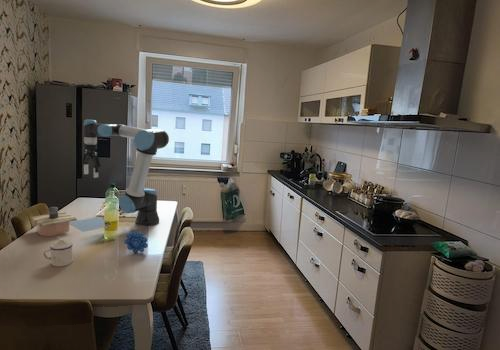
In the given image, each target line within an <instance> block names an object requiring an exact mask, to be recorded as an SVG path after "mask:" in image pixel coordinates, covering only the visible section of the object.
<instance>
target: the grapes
mask: <svg viewBox="0 0 500 350" xmlns="http://www.w3.org/2000/svg"><path fill="white" fill-rule="evenodd" d="M147 242H148V238H147V237H146V236H144V234H143V232H140V231H139V232H137V231H135V230H132V231H131V232H130V233H126V235H125V239H124V244H125V245H127V246H126V248H127V249H128V250H130V251H132V252H133V253H135V254H137V253H144V252H145V249H147V248H148V246H149V245H148V243H147Z"/></svg>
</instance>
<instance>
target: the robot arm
mask: <svg viewBox="0 0 500 350" xmlns="http://www.w3.org/2000/svg"><path fill="white" fill-rule="evenodd" d="M98 136H100V137H110V136H116V137H117V136H118V137H123V138H128V139H132V140H133V142H134V147H135V148H136V149H135V150H136V152H137V156H136V158H135V163H134V166H133V170H132V174H131V178H130V181H129V186H128V187H127V188H125V191H124V192H125V194H124V195H122V196H121V197H120V198H119V206H118V207H120V210H121V211H122V212H124V213H125V214H133V213H136V212H137V214H136V217H135V224H137V225H141V226H144V227H148V226H154V225H155V226H156V225H157V224H160V217H159V215H158V214H159V213H158V209H157V208H158V204H157V203H158V191H157V189H154V188H149V187H145V184H146V182H147V178H148V175H149V174H148V173H149V170H150V167H151V163H152V160H153V156H156V155H157V150H158V149H159V150H160V149H163V148H165V147H166V146H167V145H168V143H169V141H170V137H169V134H168V132H166V131H165V130H163V129H156V128H155V129H154V128H153V129H149V128H139V127H135V126H130V125H125V124H121V123H118V124H117V123H97V120H95V119H85V120H84V121H83V143H84V145H83V155H82V160H81V163H82V164H83V175H89V172H90V171H89V162H90V159H91V162H92V165H93V178H94V179H96V178H99V168H100V167H101V163H100V159H99V156H98V155H99V154H98V151H96V150H97V149H98V145H97V144H98Z"/></svg>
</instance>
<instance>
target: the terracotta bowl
mask: <svg viewBox="0 0 500 350" xmlns="http://www.w3.org/2000/svg"><path fill="white" fill-rule="evenodd" d="M36 224H37V225H36V227H37V234H38V235H39V234H40V236H44V237H55V236H56V237H57V236H58V235H60V234H65V233H66V232H69V231H70V229H71V224H70V222H66V223H60V224H55V225H50V226H45V227H42V226H41V225H39V224H38V223H36Z"/></svg>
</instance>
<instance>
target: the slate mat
mask: <svg viewBox="0 0 500 350" xmlns="http://www.w3.org/2000/svg"><path fill="white" fill-rule="evenodd" d="M102 217H103V216H102ZM102 217H99V216H95V217H89V218H84V219H79V220H78V219H77V220H76V221H71V222H70V226H72V227H74V228H76V229H78V230H79V231H81V232H82V233H85V232H88V231H93V230H97V229H102V228H105V227H104V220H103V218H102Z"/></svg>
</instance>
